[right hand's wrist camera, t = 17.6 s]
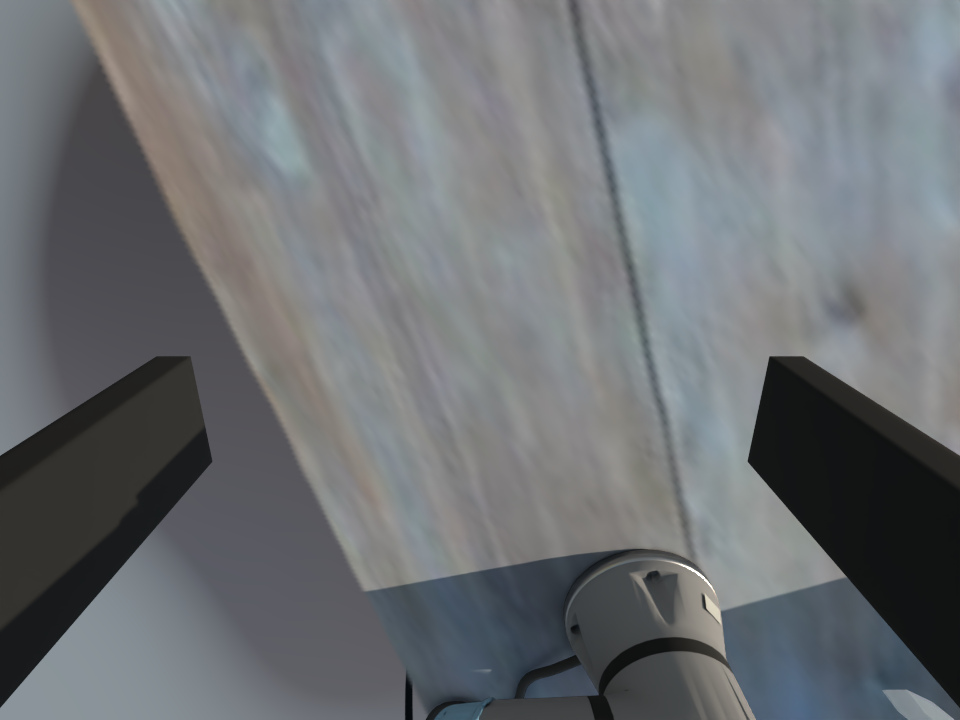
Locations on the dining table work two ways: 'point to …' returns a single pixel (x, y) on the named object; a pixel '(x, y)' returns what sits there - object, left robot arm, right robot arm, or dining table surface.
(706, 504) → the dining table surface
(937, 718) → the white plastic object
